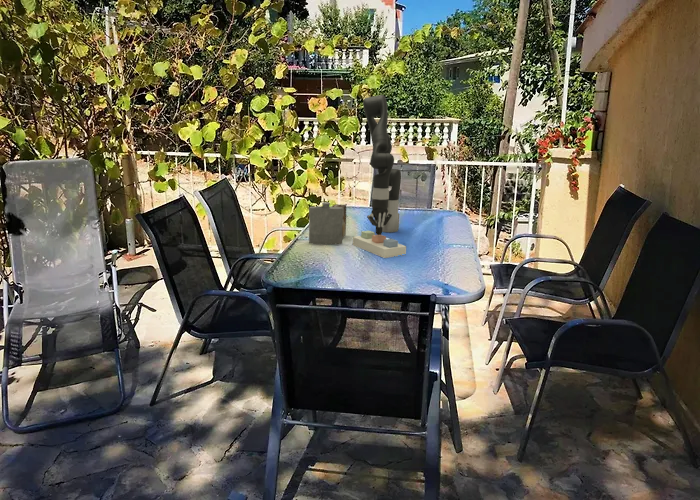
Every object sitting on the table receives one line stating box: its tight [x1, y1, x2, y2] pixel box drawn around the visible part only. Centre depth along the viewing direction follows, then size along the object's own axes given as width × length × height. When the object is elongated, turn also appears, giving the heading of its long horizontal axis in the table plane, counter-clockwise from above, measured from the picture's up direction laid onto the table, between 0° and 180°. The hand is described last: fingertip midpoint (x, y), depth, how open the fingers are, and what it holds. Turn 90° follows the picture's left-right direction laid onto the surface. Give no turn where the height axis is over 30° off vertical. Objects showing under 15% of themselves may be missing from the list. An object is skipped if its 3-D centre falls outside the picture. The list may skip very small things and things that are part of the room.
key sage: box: [360, 230, 376, 239], centre depth 256 cm, size 5×5×3 cm
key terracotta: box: [372, 234, 387, 243], centre depth 248 cm, size 5×5×3 cm
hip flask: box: [308, 201, 343, 245], centre depth 256 cm, size 16×4×20 cm, turn 92°
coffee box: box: [331, 203, 347, 240], centre depth 269 cm, size 9×6×16 cm
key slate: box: [383, 238, 399, 248], centre depth 241 cm, size 5×5×3 cm
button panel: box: [352, 235, 407, 259], centre depth 249 cm, size 12×26×4 cm, turn 33°
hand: (378, 234), depth 248 cm, fingers closed
